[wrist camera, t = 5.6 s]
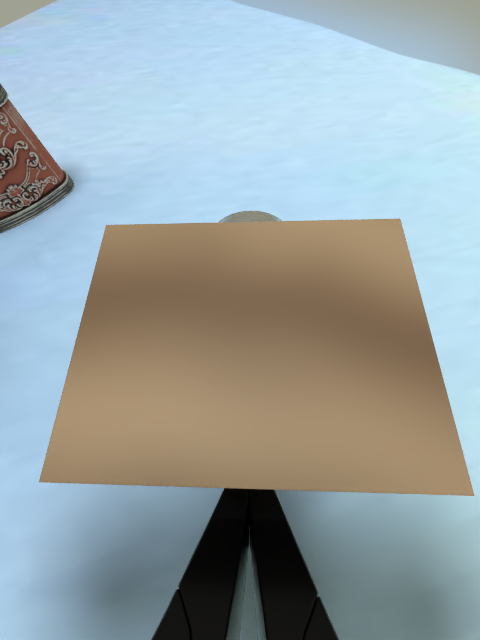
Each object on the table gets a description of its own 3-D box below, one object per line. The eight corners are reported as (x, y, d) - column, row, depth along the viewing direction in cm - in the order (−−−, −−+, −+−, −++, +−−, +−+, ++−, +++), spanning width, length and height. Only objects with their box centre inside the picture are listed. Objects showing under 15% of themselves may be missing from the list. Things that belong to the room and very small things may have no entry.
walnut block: (333, 451, 14) (474, 495, 5) (172, 447, 15) (39, 481, 6) (320, 330, 17) (399, 218, 8) (184, 331, 18) (106, 225, 8)
